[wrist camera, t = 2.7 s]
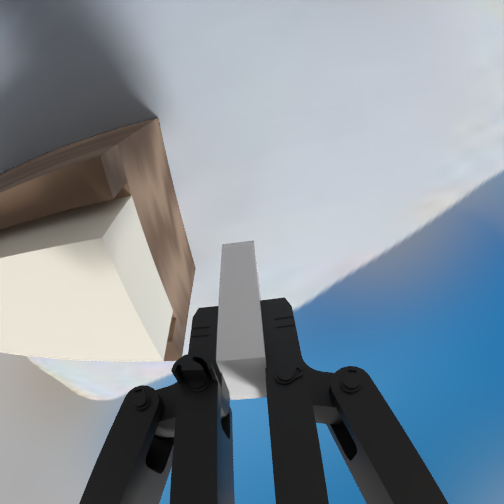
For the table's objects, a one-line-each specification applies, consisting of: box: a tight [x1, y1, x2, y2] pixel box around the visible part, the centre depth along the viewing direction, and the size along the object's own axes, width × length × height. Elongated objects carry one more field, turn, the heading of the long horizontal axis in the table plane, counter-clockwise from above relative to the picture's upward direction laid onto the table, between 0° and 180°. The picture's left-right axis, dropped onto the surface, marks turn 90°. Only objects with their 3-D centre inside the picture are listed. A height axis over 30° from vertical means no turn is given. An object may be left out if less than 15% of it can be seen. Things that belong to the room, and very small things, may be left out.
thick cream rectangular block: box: [0, 196, 173, 362], centre depth 15 cm, size 8×18×4 cm, turn 97°
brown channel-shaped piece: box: [0, 118, 195, 361], centre depth 19 cm, size 14×18×10 cm
